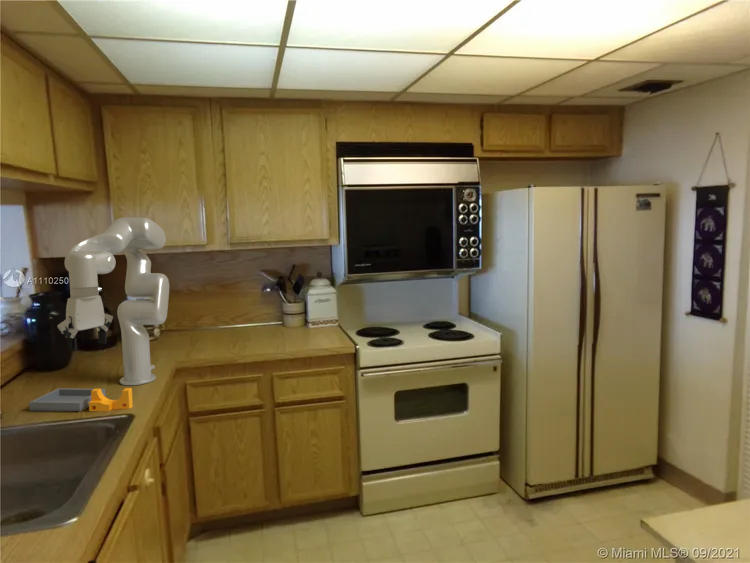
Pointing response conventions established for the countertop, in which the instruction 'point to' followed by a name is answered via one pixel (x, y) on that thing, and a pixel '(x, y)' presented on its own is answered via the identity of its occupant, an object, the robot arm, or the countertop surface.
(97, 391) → the pipe clamp
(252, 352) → the countertop surface
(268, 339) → the countertop surface
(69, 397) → the parts tray
